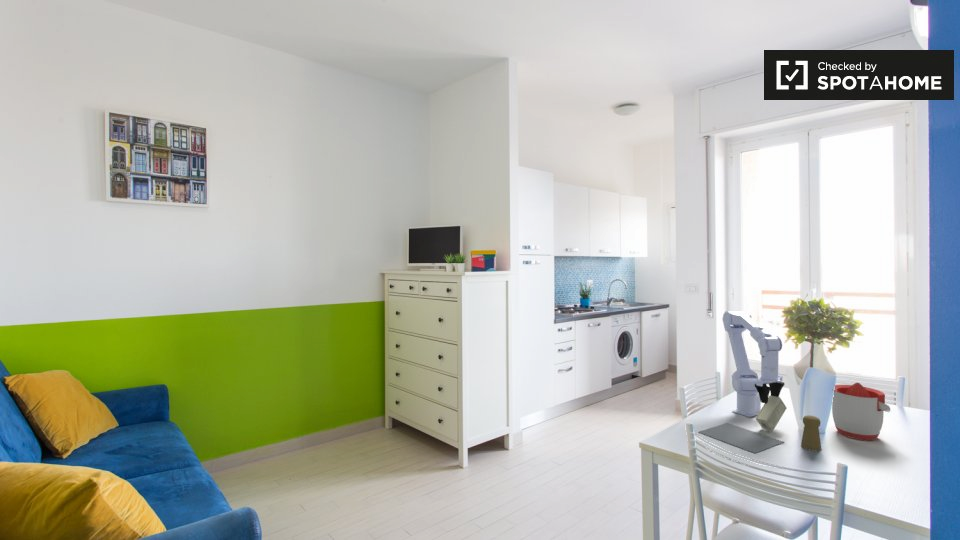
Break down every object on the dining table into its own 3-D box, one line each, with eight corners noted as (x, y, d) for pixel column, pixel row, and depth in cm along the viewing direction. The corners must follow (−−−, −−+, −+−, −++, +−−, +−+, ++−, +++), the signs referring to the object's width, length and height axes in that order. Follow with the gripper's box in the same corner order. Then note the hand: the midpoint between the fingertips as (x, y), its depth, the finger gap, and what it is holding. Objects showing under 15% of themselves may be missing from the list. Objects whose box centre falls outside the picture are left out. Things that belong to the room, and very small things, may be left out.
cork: (815, 452, 164) (816, 420, 163) (797, 445, 169) (797, 415, 168) (825, 448, 166) (825, 417, 166) (806, 442, 172) (807, 412, 171)
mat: (727, 423, 191) (727, 422, 191) (784, 442, 172) (784, 441, 172) (698, 432, 182) (698, 431, 182) (755, 453, 163) (755, 452, 163)
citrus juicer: (880, 448, 165) (881, 392, 164) (823, 432, 180) (824, 381, 179) (897, 438, 174) (898, 385, 173) (841, 424, 188) (842, 374, 187)
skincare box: (762, 429, 185) (776, 406, 189) (773, 431, 181) (787, 408, 185) (754, 417, 183) (769, 395, 188) (765, 420, 179) (780, 397, 184)
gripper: (769, 372, 178) (769, 407, 179) (790, 366, 185) (790, 400, 186) (751, 368, 184) (750, 402, 185) (772, 363, 191) (771, 396, 192)
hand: (769, 401), depth 186 cm, fingers open, 7 cm apart
